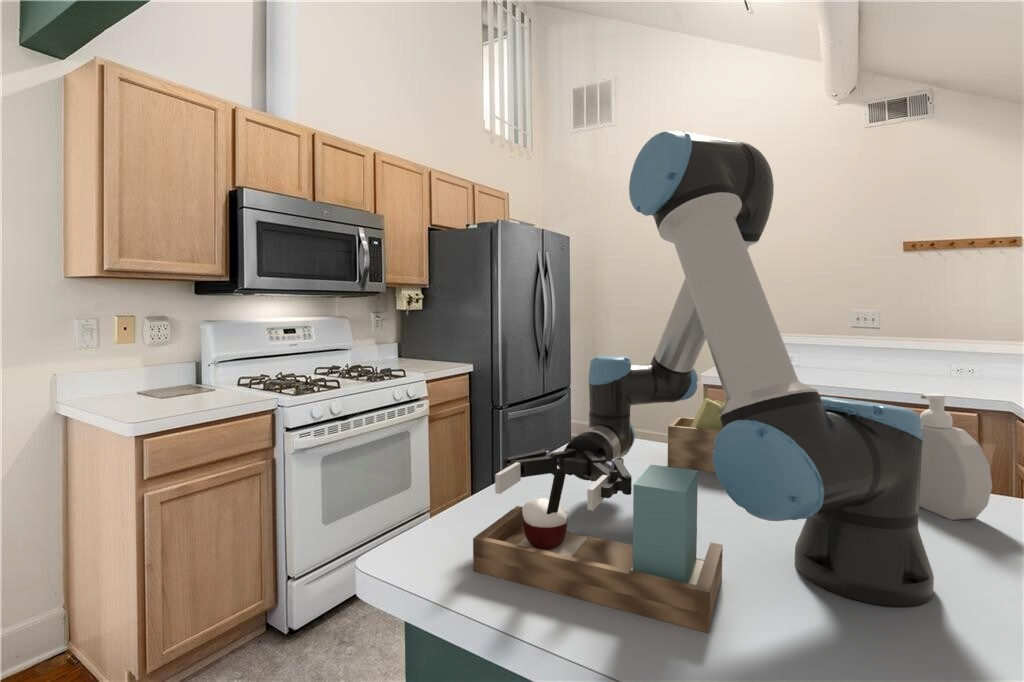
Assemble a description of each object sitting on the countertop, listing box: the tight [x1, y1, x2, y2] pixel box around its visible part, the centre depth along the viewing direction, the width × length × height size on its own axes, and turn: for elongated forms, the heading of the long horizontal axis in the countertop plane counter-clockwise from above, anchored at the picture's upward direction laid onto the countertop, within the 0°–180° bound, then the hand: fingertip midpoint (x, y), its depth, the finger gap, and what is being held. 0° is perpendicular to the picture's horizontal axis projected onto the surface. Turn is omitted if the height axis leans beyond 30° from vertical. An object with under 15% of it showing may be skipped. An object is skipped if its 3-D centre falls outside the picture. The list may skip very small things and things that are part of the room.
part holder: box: [667, 416, 721, 473], centre depth 116 cm, size 26×11×9 cm, turn 62°
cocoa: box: [521, 467, 569, 549], centre depth 73 cm, size 10×6×12 cm, turn 1°
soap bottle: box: [919, 393, 993, 521], centre depth 92 cm, size 16×5×20 cm, turn 8°
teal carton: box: [632, 464, 699, 583], centre depth 66 cm, size 6×9×12 cm
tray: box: [472, 505, 723, 634], centre depth 70 cm, size 30×13×4 cm, turn 62°
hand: (541, 491), depth 71 cm, fingers open, 13 cm apart
